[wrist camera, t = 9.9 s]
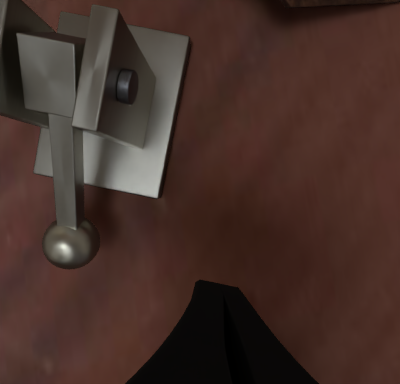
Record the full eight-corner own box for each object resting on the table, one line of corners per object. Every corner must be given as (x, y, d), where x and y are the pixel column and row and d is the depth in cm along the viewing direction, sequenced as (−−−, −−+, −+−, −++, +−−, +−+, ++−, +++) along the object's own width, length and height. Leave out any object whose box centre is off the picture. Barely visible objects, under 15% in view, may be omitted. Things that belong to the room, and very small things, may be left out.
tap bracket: (161, 197, 20) (122, 216, 11) (43, 173, 20) (-88, 172, 11) (191, 44, 19) (176, -66, 10) (69, 20, 19) (-47, -108, 11)
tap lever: (107, 250, 19) (86, 286, 16) (61, 240, 19) (33, 274, 16) (112, 42, 13) (81, 46, 11) (46, 29, 13) (-1, 30, 11)
